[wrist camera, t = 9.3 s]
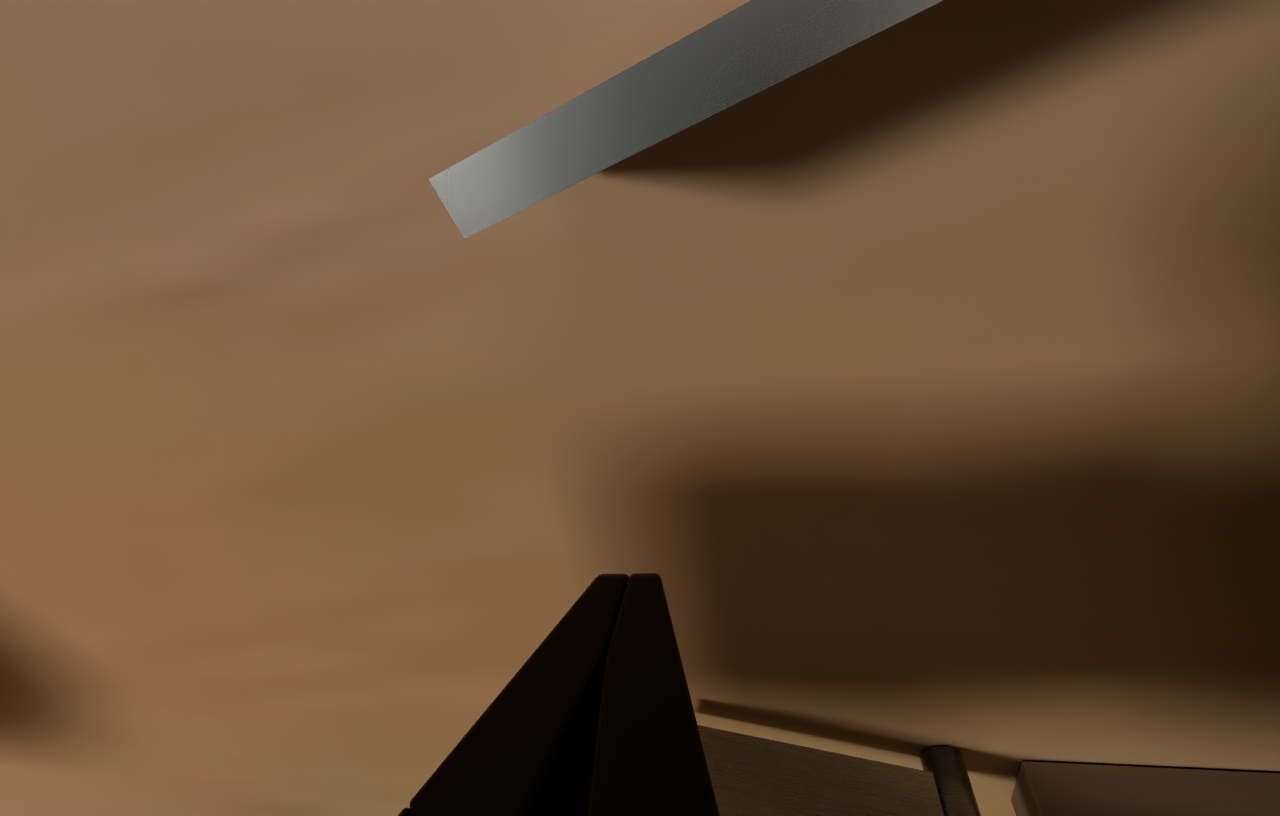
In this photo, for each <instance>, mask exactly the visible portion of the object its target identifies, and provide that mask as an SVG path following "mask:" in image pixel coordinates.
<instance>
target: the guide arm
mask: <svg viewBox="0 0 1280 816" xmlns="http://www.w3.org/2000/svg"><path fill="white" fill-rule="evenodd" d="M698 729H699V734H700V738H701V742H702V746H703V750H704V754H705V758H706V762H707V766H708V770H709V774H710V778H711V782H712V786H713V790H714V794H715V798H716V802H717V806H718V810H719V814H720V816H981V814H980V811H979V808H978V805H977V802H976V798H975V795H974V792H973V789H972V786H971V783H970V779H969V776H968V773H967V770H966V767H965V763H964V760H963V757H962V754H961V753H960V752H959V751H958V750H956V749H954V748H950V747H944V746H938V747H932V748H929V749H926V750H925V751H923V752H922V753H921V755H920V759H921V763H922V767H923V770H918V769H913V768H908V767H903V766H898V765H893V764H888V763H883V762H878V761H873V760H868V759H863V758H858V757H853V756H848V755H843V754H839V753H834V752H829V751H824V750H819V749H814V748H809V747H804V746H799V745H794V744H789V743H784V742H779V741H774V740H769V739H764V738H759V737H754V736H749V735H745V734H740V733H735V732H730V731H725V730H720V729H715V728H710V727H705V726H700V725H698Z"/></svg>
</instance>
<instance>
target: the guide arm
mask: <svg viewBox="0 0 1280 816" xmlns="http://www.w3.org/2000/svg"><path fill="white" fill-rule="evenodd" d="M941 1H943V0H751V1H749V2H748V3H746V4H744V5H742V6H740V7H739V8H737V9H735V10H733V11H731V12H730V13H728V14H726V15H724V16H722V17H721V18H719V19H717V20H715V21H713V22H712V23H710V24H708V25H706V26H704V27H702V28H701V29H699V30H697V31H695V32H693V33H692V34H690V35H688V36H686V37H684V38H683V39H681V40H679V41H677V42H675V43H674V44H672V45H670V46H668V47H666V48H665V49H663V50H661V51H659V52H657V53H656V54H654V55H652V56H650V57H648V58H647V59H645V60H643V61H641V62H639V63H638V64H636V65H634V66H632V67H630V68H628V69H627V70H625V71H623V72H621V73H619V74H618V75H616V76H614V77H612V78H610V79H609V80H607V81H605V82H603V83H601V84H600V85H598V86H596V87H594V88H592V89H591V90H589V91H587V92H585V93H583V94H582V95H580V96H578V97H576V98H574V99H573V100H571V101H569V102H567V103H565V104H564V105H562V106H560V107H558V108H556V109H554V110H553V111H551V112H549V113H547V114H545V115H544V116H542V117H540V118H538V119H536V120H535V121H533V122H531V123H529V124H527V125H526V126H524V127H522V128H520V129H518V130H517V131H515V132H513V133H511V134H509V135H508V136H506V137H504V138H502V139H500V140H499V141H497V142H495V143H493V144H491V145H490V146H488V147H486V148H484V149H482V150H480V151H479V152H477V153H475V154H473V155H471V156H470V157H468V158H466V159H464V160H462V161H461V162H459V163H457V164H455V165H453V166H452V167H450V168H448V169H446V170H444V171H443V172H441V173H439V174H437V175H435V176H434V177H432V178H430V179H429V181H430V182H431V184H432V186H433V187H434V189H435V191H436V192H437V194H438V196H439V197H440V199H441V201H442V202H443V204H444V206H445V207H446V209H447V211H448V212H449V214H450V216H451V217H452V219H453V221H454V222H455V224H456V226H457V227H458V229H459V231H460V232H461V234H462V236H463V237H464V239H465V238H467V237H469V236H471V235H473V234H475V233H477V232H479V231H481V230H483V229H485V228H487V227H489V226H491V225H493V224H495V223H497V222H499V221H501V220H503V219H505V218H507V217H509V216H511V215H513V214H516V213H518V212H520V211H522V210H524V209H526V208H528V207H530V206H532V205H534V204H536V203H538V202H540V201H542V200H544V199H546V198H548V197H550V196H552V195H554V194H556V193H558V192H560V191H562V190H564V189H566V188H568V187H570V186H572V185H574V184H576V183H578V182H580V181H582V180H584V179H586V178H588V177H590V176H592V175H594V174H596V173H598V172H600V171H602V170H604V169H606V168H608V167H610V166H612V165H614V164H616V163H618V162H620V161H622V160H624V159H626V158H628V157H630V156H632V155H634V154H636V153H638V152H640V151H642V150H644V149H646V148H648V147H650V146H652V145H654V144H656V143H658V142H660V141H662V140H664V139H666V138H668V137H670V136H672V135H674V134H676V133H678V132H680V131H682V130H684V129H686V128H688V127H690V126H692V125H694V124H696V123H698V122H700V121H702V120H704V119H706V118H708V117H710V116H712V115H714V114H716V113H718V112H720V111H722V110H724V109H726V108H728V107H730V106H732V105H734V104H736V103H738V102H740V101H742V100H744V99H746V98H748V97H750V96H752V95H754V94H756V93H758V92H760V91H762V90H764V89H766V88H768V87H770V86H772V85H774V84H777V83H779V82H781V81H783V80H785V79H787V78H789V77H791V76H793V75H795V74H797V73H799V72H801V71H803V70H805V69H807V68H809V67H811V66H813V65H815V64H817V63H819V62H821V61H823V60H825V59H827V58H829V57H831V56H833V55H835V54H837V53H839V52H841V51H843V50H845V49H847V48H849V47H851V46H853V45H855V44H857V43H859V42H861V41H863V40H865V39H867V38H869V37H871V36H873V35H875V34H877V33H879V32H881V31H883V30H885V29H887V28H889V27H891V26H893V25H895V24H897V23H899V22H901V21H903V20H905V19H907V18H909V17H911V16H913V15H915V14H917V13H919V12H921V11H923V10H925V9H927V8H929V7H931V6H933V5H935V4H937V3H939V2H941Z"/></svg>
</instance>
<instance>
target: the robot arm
mask: <svg viewBox="0 0 1280 816" xmlns="http://www.w3.org/2000/svg"><path fill="white" fill-rule="evenodd" d="M398 816H720V814H719V810H718V806H717V802H716V798H715V794H714V790H713V786H712V782H711V778H710V774H709V770H708V766H707V762H706V758H705V754H704V750H703V746H702V742H701V738H700V734H699V729H698V725H697V721H696V717H695V713H694V709H693V705H692V701H691V697H690V693H689V689H688V685H687V681H686V677H685V673H684V669H683V665H682V661H681V657H680V653H679V649H678V645H677V641H676V637H675V633H674V629H673V625H672V621H671V617H670V613H669V609H668V605H667V601H666V597H665V593H664V589H663V585H662V581H661V578H660V576H659V575H658V574H656V573H640V574H632V575H631V576H630V577H629V576H628V575H627V574H601V575H599V576H598V577H596V578H595V580H594V581H593V582H592V583H591V584H590V586H589V587H588V588H587V589H586V590H585V592H584V593H583V594H582V595H581V596H580V598H579V599H578V600H577V601H576V602H575V604H574V605H573V606H572V607H571V608H570V610H569V611H568V612H567V613H566V614H565V616H564V617H563V618H562V619H561V620H560V622H559V623H558V624H557V625H556V626H555V628H554V629H553V630H552V631H551V632H550V634H549V635H548V636H547V637H546V638H545V640H544V641H543V642H542V643H541V644H540V646H539V647H538V648H537V649H536V650H535V652H534V653H533V654H532V655H531V657H530V658H529V659H528V660H527V661H526V663H525V664H524V665H523V666H522V667H521V669H520V670H519V671H518V672H517V673H516V675H515V676H514V677H513V678H512V679H511V681H510V682H509V683H508V684H507V685H506V687H505V688H504V689H503V690H502V691H501V693H500V694H499V695H498V696H497V697H496V699H495V700H494V701H493V702H492V703H491V705H490V706H489V707H488V708H487V709H486V711H485V712H484V713H483V714H482V715H481V717H480V718H479V719H478V720H477V721H476V723H475V724H474V725H473V726H472V728H471V729H470V730H469V731H468V732H467V734H466V735H465V736H464V737H463V738H462V740H461V741H460V742H459V743H458V744H457V746H456V747H455V748H454V749H453V750H452V752H451V753H450V754H449V755H448V756H447V758H446V759H445V760H444V761H443V762H442V764H441V765H440V766H439V767H438V768H437V770H436V771H435V772H434V773H433V774H432V776H431V777H430V778H429V779H428V780H427V782H426V783H425V784H424V785H423V786H422V788H421V789H420V790H419V791H418V792H417V794H416V795H415V796H414V797H413V798H412V800H411V801H410V809H409V808H404V809H403V810H402V811H401V813H400V814H399V815H398Z"/></svg>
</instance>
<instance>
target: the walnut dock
mask: <svg viewBox="0 0 1280 816" xmlns="http://www.w3.org/2000/svg"><path fill="white" fill-rule="evenodd" d="M1011 802H1012V805H1013V807H1014V810H1015V813H1016V816H1280V773H1260V772H1239V771H1217V770H1196V769H1175V768H1153V767H1132V766H1111V765H1090V764H1068V763H1047V762H1026V761H1022V763H1021V767H1020V770H1019V774H1018V777H1017V781H1016V785H1015V788H1014V792H1013V795H1012V799H1011Z"/></svg>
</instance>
